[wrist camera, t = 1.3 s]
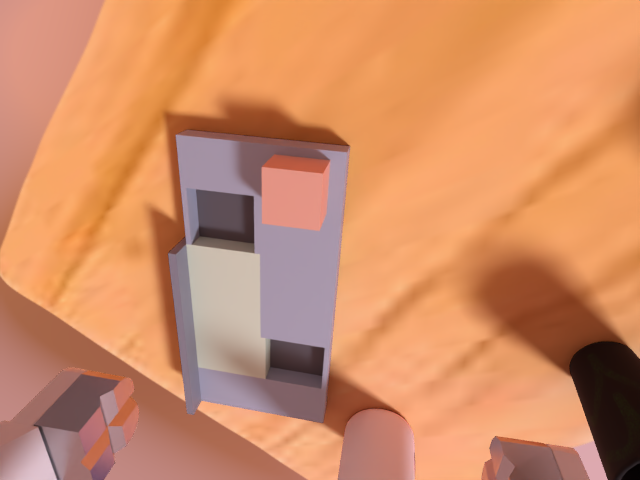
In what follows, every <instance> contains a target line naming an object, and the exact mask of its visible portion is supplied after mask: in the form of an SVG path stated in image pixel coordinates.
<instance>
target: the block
mask: <svg viewBox="0 0 640 480" xmlns="http://www.w3.org/2000/svg"><path fill="white" fill-rule="evenodd" d="M329 174H330V160H324V159H314V158H305V157H295V156H286V155H276V154H274V155H273V156H272V157H271V158H270V159H269V160H268V161H267V162H266V163H265V164H264V165H263V166H262V224H269V225H277V226H284V227H292V228H300V229H308V230H316V231H320V228H321V226H322V224H323V221H324V219H325V216H326V214H327V202H328V188H329Z"/></svg>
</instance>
